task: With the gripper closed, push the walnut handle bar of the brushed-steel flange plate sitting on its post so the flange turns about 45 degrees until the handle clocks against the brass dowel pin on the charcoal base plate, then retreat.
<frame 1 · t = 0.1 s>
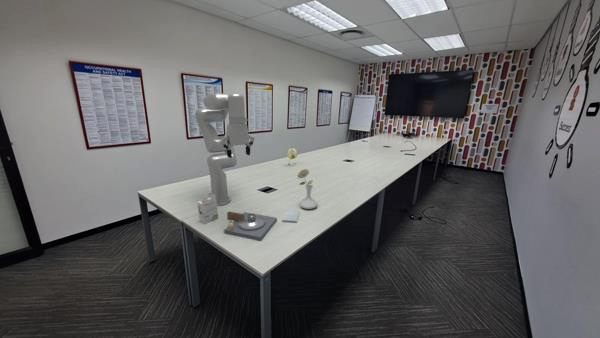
hand: (239, 156, 116), 37 cm above the table, tool pointing down, fingers open, 9 cm apart
flange: (245, 218, 122), point 4 cm above the table, hinge at 0.0°
ink box: (208, 220, 129), on the table
hard drive: (291, 218, 134), on the table
flower in vase: (307, 207, 147), on the table
base plate: (252, 226, 122), on the table
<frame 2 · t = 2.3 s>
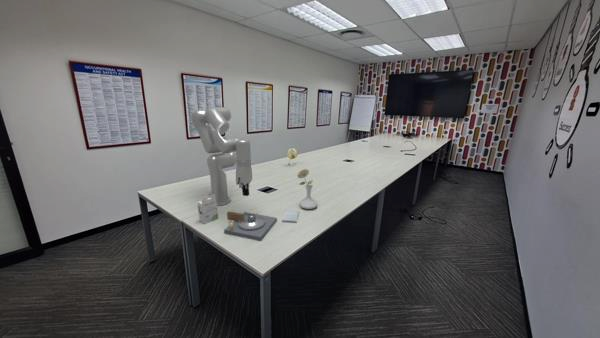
hand: (245, 195, 128), 14 cm above the table, tool pointing down, fingers closed
nothing on the table moved.
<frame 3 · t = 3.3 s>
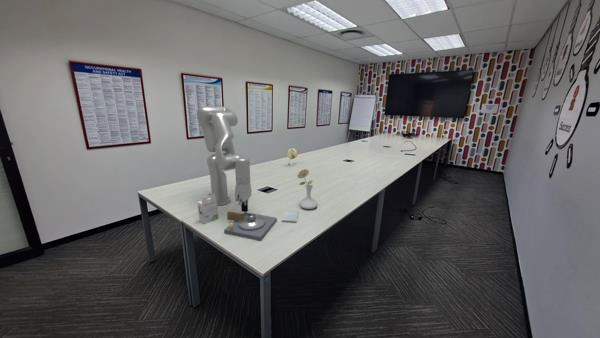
hand: (244, 211, 129), 5 cm above the table, tool pointing down, fingers closed
nothing on the table moved.
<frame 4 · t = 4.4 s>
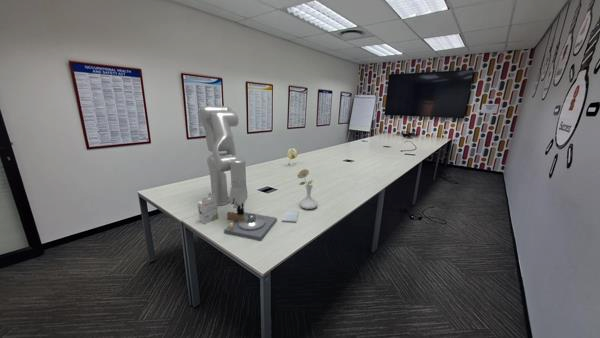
hand: (240, 214, 125), 5 cm above the table, tool pointing down, fingers closed
flange: (245, 218, 122), point 4 cm above the table, hinge at 1.2°, touching gripper
everything else where it was.
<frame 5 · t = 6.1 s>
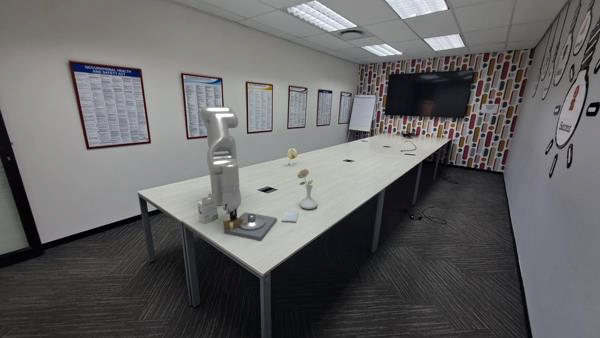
hand: (233, 220, 120), 4 cm above the table, tool pointing down, fingers closed
flange: (245, 220, 119), point 4 cm above the table, hinge at 44.6°, touching gripper
everything else where it was.
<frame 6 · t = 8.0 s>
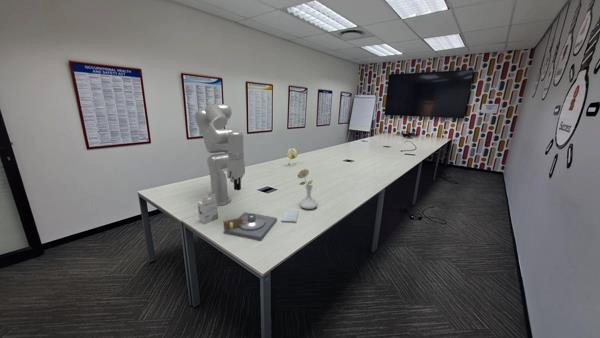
hand: (237, 189, 123), 18 cm above the table, tool pointing down, fingers closed
flange: (245, 220, 119), point 4 cm above the table, hinge at 44.8°
everything else where it was.
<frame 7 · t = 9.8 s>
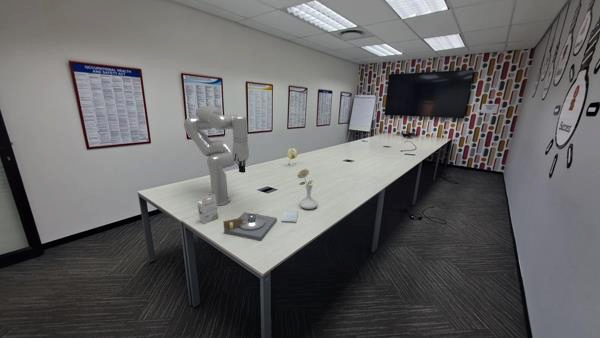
hand: (242, 172, 130), 25 cm above the table, tool pointing down, fingers closed
nothing on the table moved.
at the end: flange at +45° (first picture: +0°) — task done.
